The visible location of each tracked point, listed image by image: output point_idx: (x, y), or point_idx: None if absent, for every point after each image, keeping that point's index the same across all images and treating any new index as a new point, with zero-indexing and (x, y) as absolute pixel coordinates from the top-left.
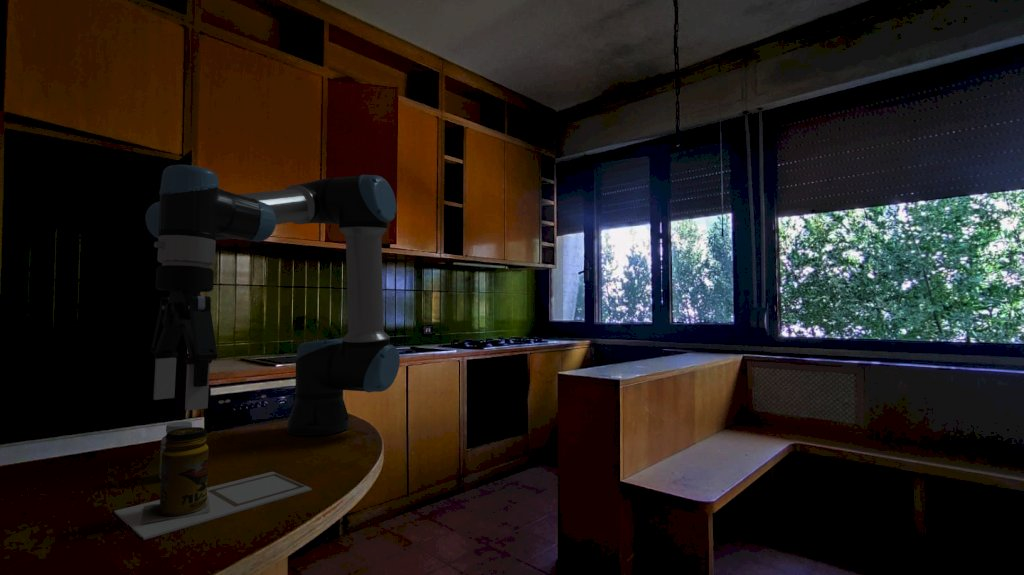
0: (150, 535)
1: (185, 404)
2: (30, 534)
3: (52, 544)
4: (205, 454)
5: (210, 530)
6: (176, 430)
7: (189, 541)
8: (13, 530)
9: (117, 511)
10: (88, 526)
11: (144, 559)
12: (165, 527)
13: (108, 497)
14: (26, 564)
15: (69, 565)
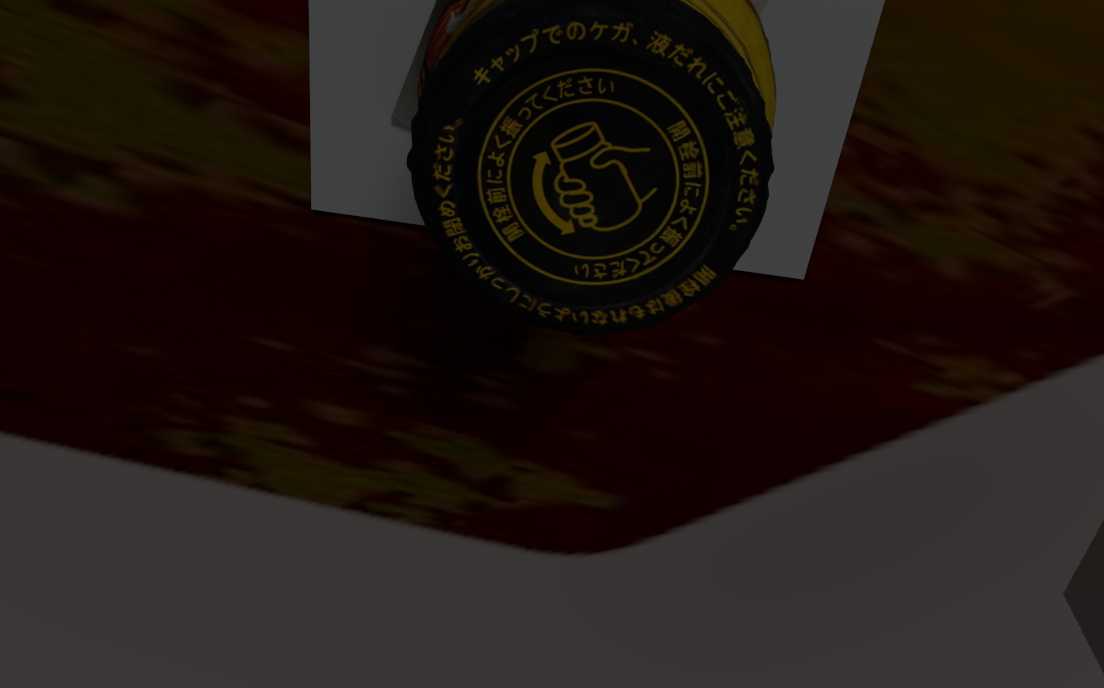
0: (804, 254)
1: (1100, 648)
2: (319, 457)
3: (505, 452)
4: (751, 7)
5: (1015, 51)
6: (474, 226)
7: (1026, 176)
8: (218, 471)
9: (332, 205)
10: (410, 326)
11: (995, 350)
12: (779, 177)
13: (11, 123)
14: (624, 539)
15: (769, 485)
